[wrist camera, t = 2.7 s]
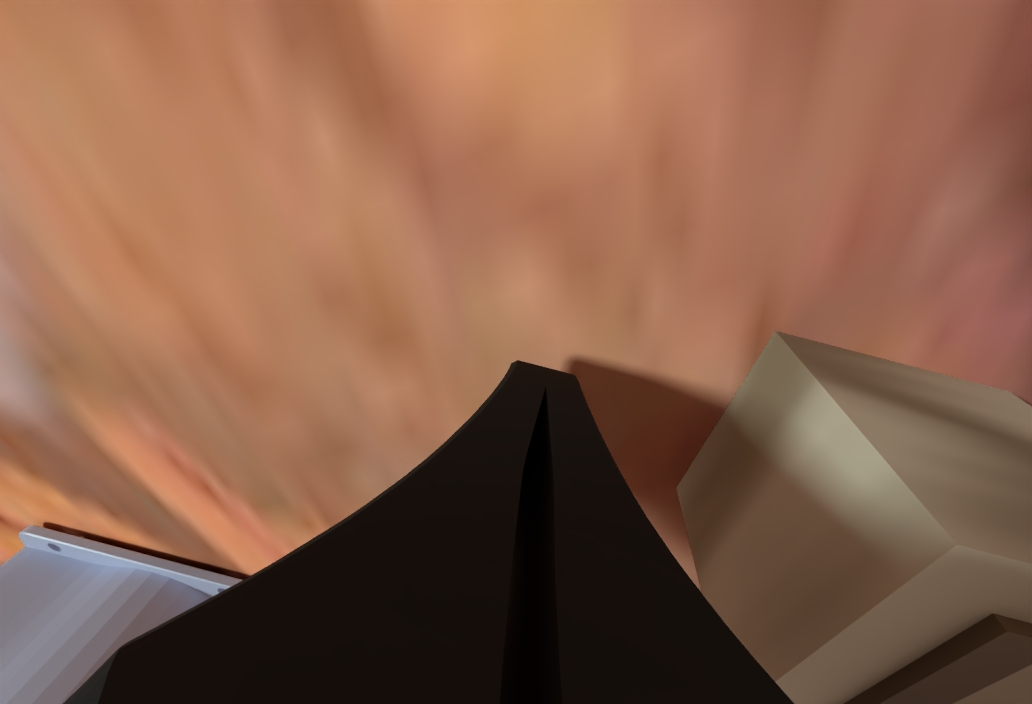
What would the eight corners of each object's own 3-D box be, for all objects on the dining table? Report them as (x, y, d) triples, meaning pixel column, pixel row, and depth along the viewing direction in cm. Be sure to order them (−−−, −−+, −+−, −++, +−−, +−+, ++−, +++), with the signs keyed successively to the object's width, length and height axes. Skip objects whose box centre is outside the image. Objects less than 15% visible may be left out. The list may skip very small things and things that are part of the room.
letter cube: (675, 485, 11) (735, 730, 7) (774, 329, 9) (971, 562, 4) (853, 532, 11) (1027, 806, 7) (1006, 389, 9) (1445, 685, 4)
